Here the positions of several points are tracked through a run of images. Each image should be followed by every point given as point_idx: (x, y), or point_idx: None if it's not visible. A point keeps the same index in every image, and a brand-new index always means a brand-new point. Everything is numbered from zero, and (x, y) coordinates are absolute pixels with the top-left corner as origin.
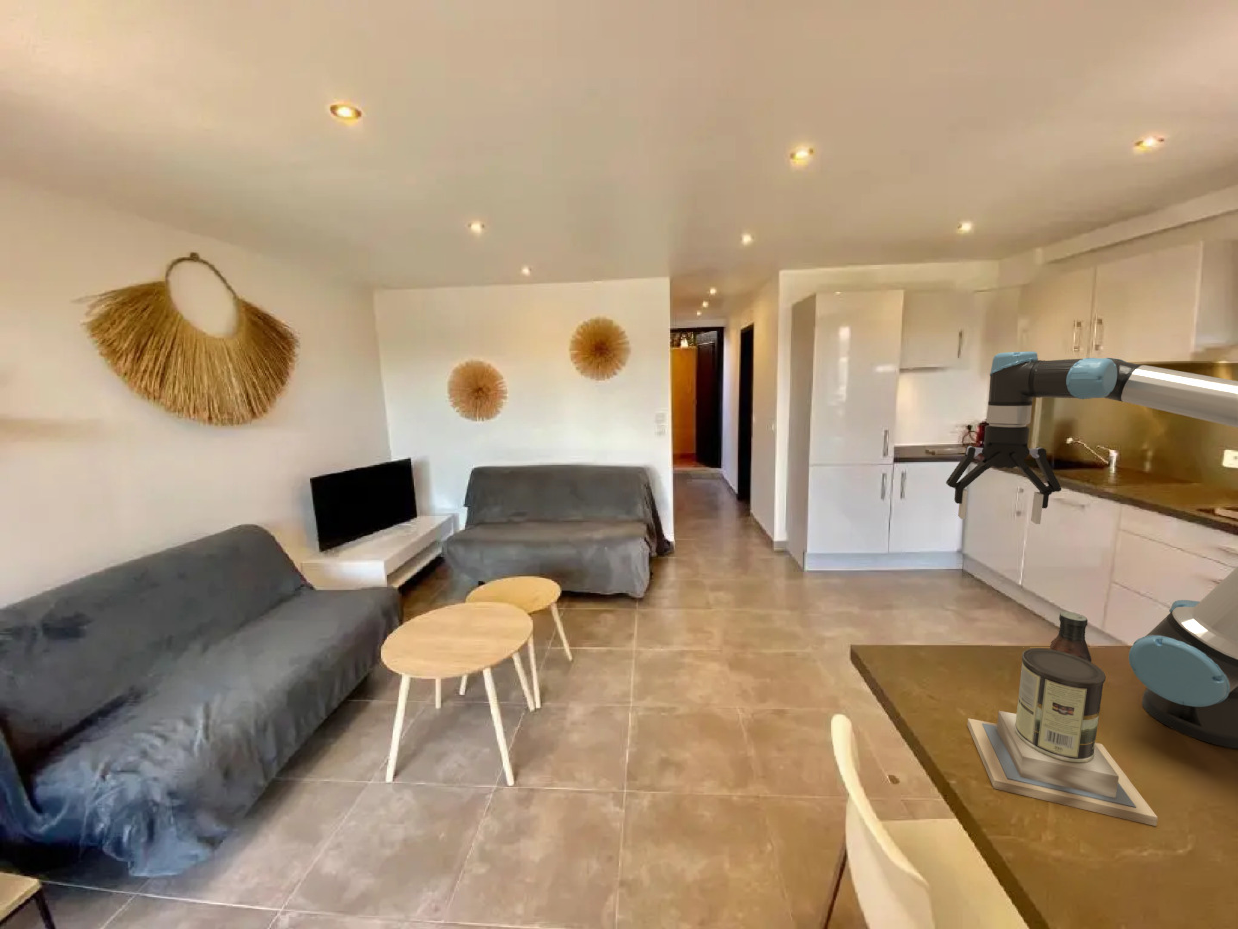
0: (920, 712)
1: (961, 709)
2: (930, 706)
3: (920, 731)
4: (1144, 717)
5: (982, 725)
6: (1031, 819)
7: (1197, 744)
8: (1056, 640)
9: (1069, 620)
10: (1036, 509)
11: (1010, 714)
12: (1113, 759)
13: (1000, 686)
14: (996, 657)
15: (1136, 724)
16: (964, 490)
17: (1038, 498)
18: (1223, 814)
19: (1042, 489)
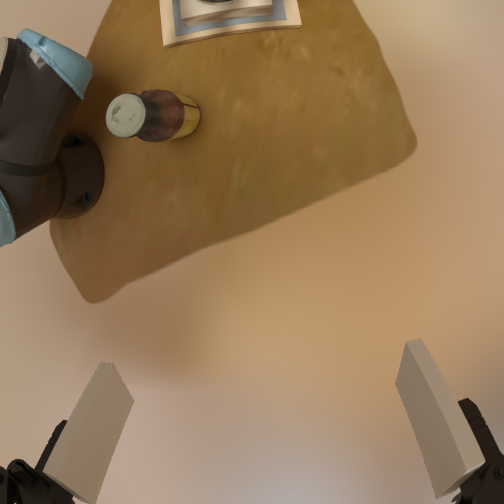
0: (351, 35)
1: (304, 57)
2: (340, 51)
3: (350, 3)
4: (107, 150)
5: (286, 17)
6: None
7: (81, 123)
8: (167, 110)
9: (135, 94)
10: (93, 418)
11: (259, 2)
12: (161, 24)
13: (248, 138)
14: (241, 225)
15: None
16: (471, 472)
17: (66, 461)
18: (104, 20)
19: (40, 497)
